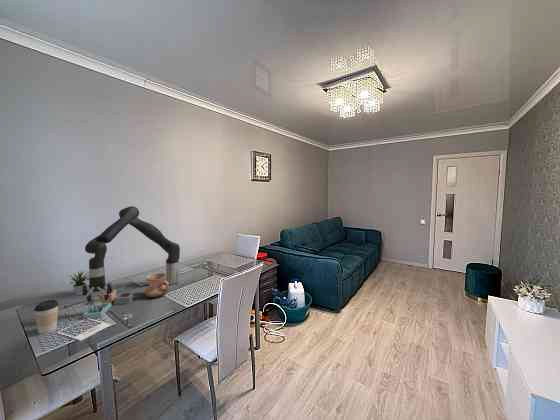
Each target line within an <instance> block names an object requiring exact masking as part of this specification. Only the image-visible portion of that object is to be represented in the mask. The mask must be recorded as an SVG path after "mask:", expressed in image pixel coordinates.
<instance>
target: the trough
mask: <svg viewBox="0 0 560 420" xmlns="http://www.w3.org/2000/svg"><path fill="white" fill-rule="evenodd" d="M110 308H112V302H110V303H102V309H103V310H102V311H101V312H97V313H94V306H93V305H92V306H91V307H90V308H88V310H87V311H85V312H83V314H82V320H85V318H89V319H95V318H96V319H97V317H98V318H102V317H103V316H104V314H105V313H106V312H107V311H108V310H109V309H110Z"/></svg>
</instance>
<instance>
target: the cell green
mask: <svg viewBox="0 0 560 420" xmlns="http://www.w3.org/2000/svg"><path fill="white" fill-rule="evenodd" d="M92 302H93V303H92V304H93V305H92V306H94V313H97V312H101V311H102V310H103V309H102V294H101V293H96V294H94V295H93V296H92Z"/></svg>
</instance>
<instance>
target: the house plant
mask: <svg viewBox="0 0 560 420" xmlns="http://www.w3.org/2000/svg"><path fill="white" fill-rule="evenodd" d="M85 272H86V270H84V271H83V270H81V271H78V273H77V274H76V273H73V274H72V275H69V276H66V277H70V278H71V279H70V280H71V281H70V282H69V285H71V284H73V285H72V287H73V291H74V294H75V295H78V294H77V293H82V292H83V286H84V285H86V284H87V282H85V281H89V275H88V272H86V273H85ZM84 273H85V274H84ZM73 275H74V276H73ZM82 294H83V293H82Z"/></svg>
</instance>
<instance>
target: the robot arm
mask: <svg viewBox="0 0 560 420" xmlns="http://www.w3.org/2000/svg"><path fill="white" fill-rule="evenodd" d="M139 215H140V210H139V208H138V207H136V206H130V205H129V206H126V207H124V208H122V209H120V210H119V212H118V216H119V218H118V219H117V220H115V222H113V223H112V224H110V225H109V226H108V227H107V228H105V229H104V230H103V232H101V234H100V235H97V236H96V237H94V238H92V239H91V240H89V241H88V242H87V243H86V245H85V247H84V250H85V252H86V253H88V254H90V255H91V254H92V255H93V254H94V257H91V258H89V260H88V276H89V277H88V278H89V280H88V284H87V283H86V285H84V286H83V293H82V296H86V301H87V303H90V302H91V301H92V293H96V292H101V293H104V294H105V295H104V297H105V301H106V300H107V299H108V298H109V294H110V293H111V292H112V290H113V285H112V282H108V283H106V272H105V271H106V270H105V257H106V254H107V250H108V248H107V247H108V246H107V244H109V243H111V242H112V241H113V240H114V239H115V238H116V237H117V235H118V234H120V233H121V232H122V230H124V229H125V228H126V227H127V226H128V225H130V226H131V227H133V228H134V229H136V230H137V231H139V232H140V233H141V234H143V235H144V236H145V237H146V238H148V240H151V241H152V242H153V243H154V244H155V243H156V244H157V245H158V246H159V247H160V248H161V249H162V250H163V251H165V253H167V256H168V257H167V258H166V259H165V260H166V261H165V274H166V277H165V281H167V282H168V283H169V284H173V285H175V284H174V283H178V284H179V282H180V270H179V266H180V265H179V260H180V257H181V253H180V252H181V251H180V250H181V248H180V245H179V243H176V242H173V241H171V240H169V239H168V238H166V237H165V236H164V234H163V233H162V231H161V230H160V229H158V228H157V227H156V226H155V225H153V224H151V223H150V222H147V221H143V220H142V219H140V218H138V217H139ZM178 281H179V282H178ZM105 286H106V287H108V291H107V289H106V288H105ZM88 289H90V290H89V291H88Z"/></svg>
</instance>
